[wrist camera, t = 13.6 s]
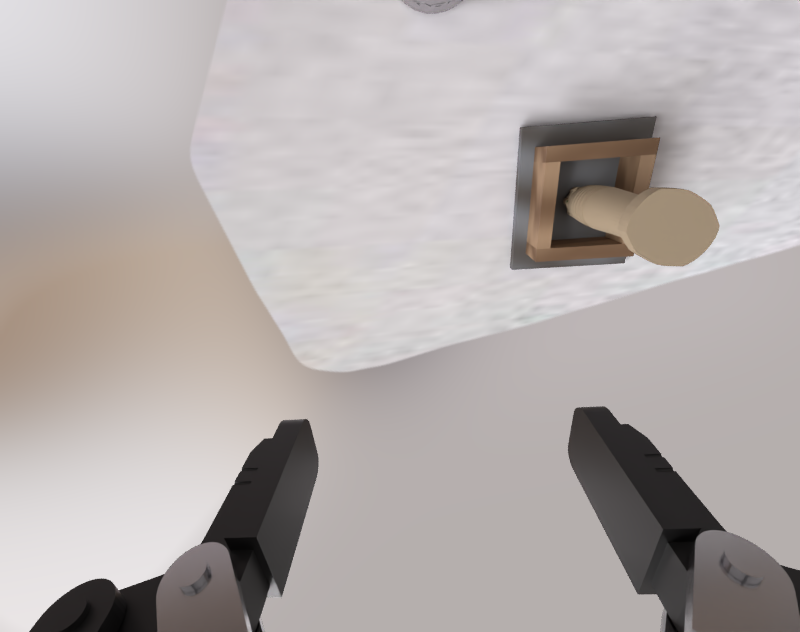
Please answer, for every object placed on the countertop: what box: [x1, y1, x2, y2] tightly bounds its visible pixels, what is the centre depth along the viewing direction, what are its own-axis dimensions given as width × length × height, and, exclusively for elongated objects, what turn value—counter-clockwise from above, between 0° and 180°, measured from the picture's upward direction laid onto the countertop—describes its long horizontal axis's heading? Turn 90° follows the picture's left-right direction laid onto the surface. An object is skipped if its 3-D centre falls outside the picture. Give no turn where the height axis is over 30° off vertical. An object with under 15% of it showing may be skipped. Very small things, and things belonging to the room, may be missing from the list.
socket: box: [510, 116, 660, 270], centre depth 36 cm, size 15×13×4 cm
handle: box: [563, 185, 719, 266], centre depth 30 cm, size 5×6×15 cm
